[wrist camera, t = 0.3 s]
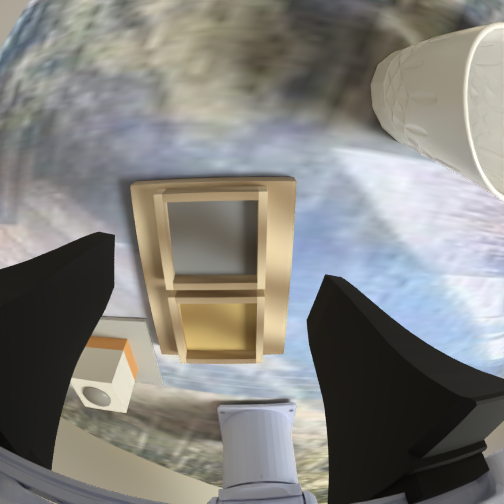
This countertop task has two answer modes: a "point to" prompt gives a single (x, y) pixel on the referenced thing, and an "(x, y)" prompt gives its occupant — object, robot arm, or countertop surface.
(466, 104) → the white cup
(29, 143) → the countertop surface
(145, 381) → the mat
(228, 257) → the socket block
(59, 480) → the robot arm
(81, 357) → the cube with grey knob
